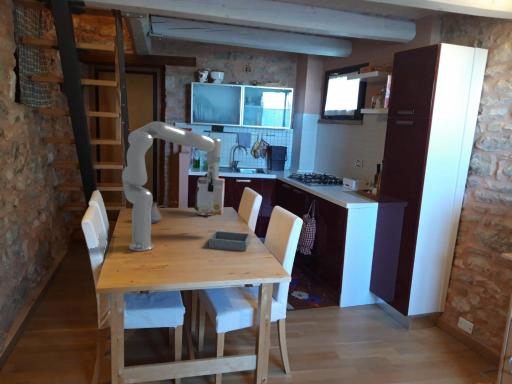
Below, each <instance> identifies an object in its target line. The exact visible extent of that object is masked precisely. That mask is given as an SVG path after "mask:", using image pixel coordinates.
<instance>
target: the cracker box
mask: <svg viewBox="0 0 512 384" xmlns="http://www.w3.org/2000/svg"><path fill="white" fill-rule="evenodd" d="M200 177H201V178H200ZM200 177H198V179H199V199H198V213H202V214H211V215H213V214H214V216H223V214H224V205H225V204H224V203H225V202H224V201H225V199H224V198H225V178H217V179H216V180H214V181H213V185H214V187H213V192H208V179H207V177H206V176H200ZM198 213H197V214H198Z"/></svg>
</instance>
